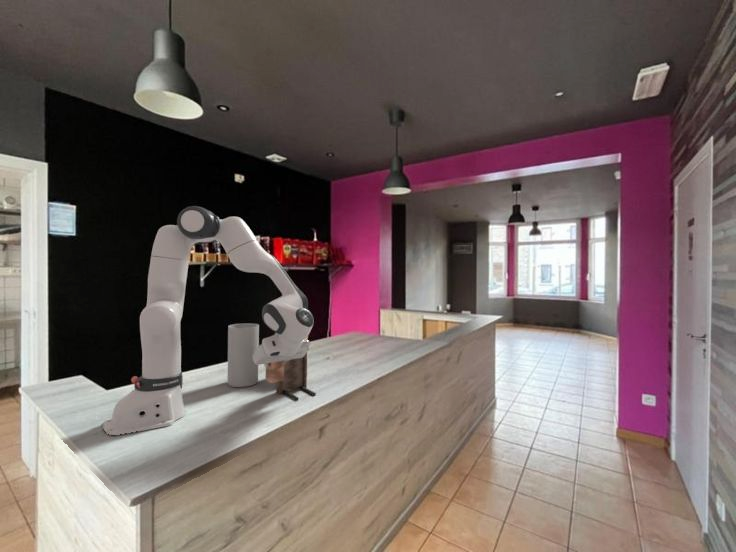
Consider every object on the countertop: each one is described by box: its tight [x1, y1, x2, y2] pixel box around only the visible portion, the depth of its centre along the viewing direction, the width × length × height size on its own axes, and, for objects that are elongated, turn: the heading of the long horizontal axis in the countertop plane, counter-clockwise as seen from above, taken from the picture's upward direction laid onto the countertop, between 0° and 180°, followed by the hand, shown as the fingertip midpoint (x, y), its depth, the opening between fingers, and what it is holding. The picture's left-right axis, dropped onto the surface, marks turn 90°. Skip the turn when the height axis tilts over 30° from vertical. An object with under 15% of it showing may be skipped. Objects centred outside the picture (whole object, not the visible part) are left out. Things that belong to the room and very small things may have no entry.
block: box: [265, 361, 284, 384], centre depth 131 cm, size 5×5×10 cm
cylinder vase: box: [227, 323, 260, 388], centre depth 149 cm, size 12×12×25 cm
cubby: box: [275, 349, 317, 401], centre depth 138 cm, size 12×13×18 cm
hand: (274, 364), depth 131 cm, fingers closed on block, 5 cm apart
